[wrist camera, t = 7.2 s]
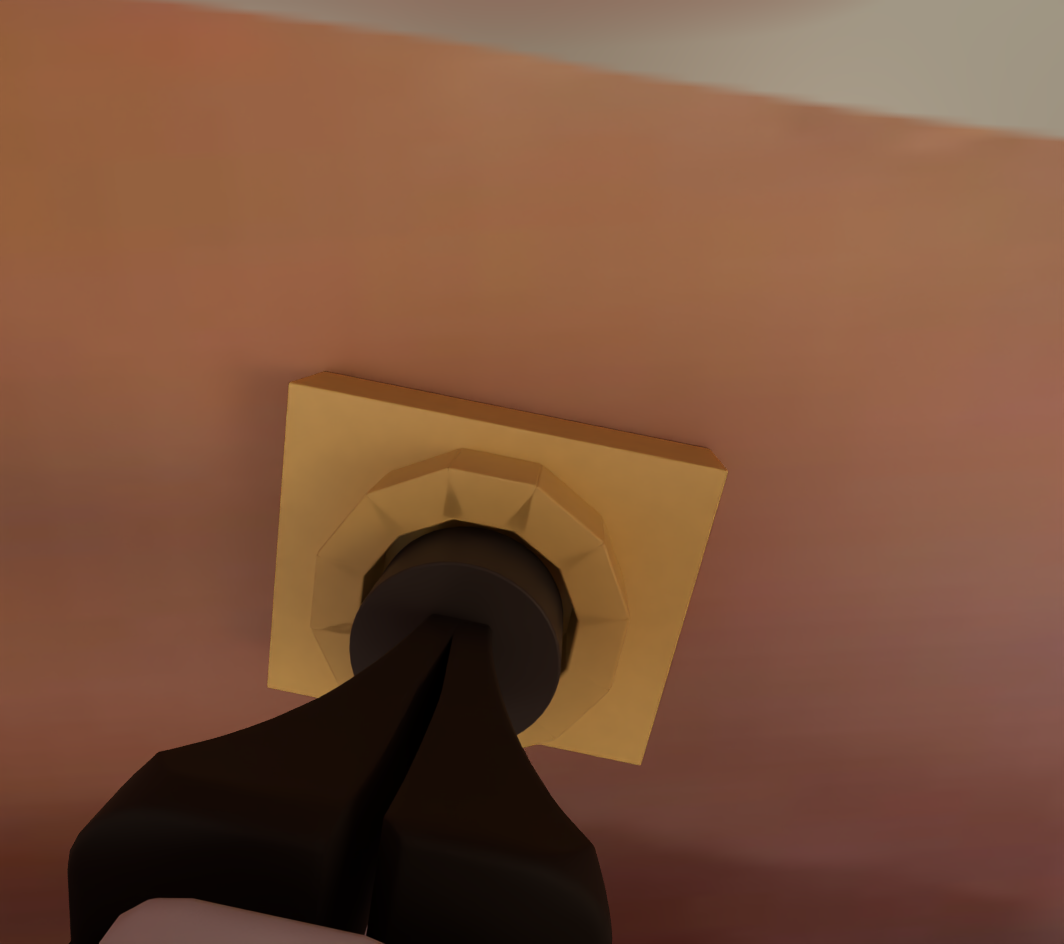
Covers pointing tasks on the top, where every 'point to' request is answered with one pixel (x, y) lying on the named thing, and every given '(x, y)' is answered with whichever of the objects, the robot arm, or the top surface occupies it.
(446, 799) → the robot arm
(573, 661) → the plate
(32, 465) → the top surface
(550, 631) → the button
